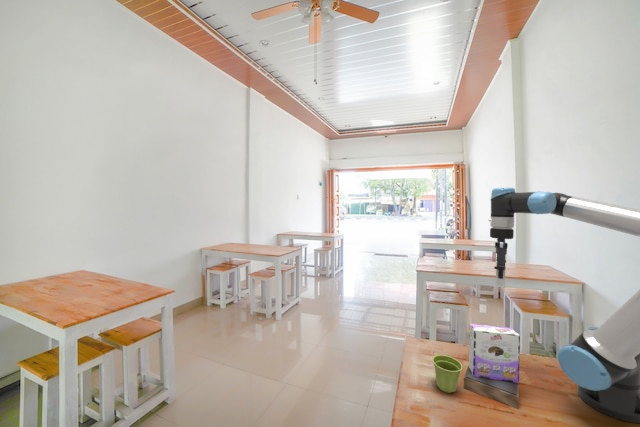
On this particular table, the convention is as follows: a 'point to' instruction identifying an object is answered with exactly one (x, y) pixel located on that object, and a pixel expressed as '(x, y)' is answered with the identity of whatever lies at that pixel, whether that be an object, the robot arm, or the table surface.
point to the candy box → (494, 352)
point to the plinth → (493, 388)
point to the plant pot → (447, 372)
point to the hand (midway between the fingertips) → (500, 282)
